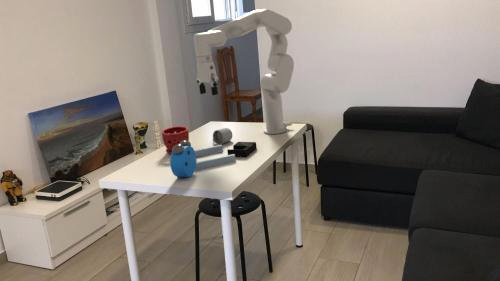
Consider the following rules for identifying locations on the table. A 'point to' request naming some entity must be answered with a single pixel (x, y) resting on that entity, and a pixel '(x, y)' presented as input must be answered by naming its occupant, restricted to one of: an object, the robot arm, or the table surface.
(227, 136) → the ceramic mug
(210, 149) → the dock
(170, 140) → the plant pot
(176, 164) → the alarm clock
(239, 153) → the battery charger
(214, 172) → the table surface
